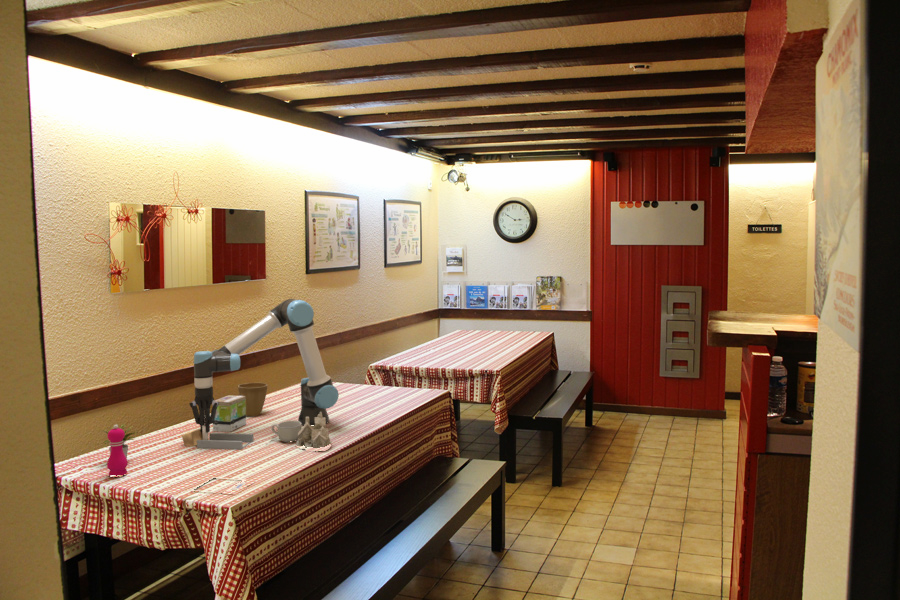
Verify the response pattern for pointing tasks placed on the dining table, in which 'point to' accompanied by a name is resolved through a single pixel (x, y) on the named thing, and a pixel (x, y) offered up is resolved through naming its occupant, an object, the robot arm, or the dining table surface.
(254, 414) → the plant pot
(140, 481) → the dining table surface
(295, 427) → the teacup
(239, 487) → the clear plastic bag
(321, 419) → the ceramic cottage
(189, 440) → the wood block
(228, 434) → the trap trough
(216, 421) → the tea box
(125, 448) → the house plant
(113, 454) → the pepper mill
